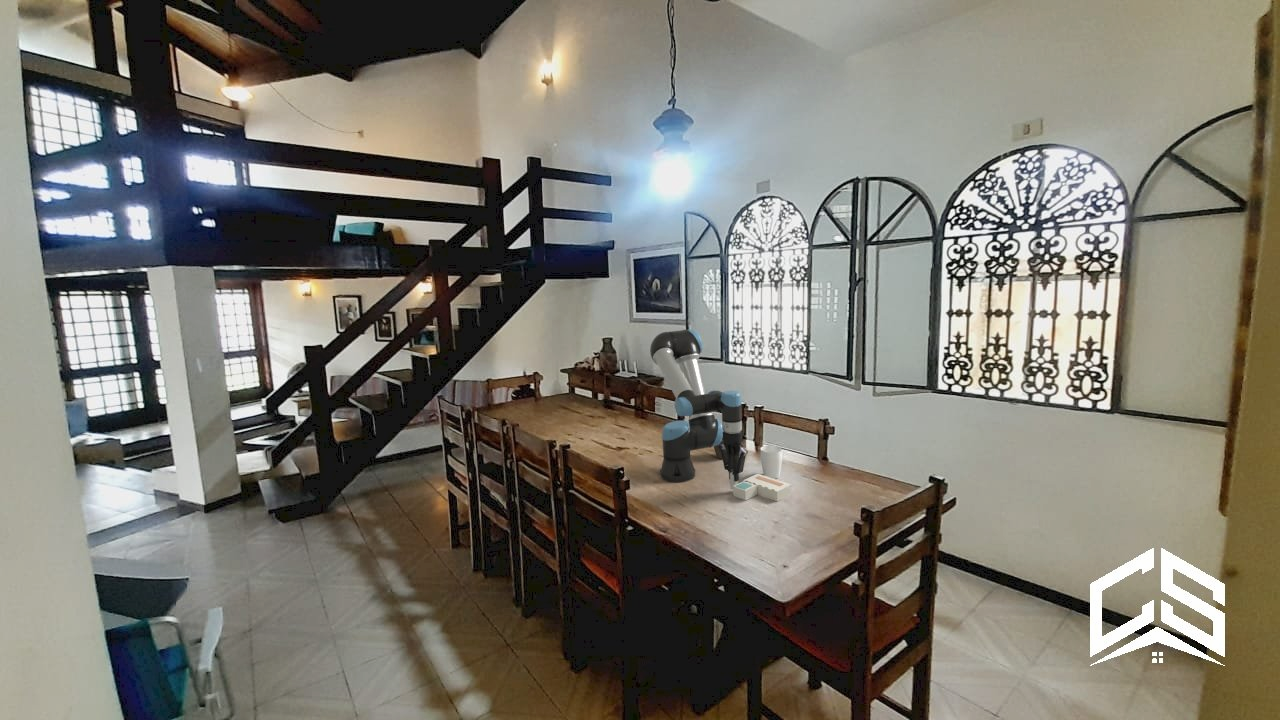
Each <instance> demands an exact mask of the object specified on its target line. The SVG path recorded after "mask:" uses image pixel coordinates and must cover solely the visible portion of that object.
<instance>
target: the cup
mask: <svg viewBox="0 0 1280 720" xmlns="http://www.w3.org/2000/svg"><path fill="white" fill-rule="evenodd" d="M759 453H760V455H759V457H760V461H761V467H762V473H763V474H762V475H763V476H767V477H770V478H773V479H776V480H777V479H779V478H780V476H781V472H782V471H781V470H782V463H783V448H782V447H781V446H777V445H764V446H761V447H760V452H759Z"/></svg>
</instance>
